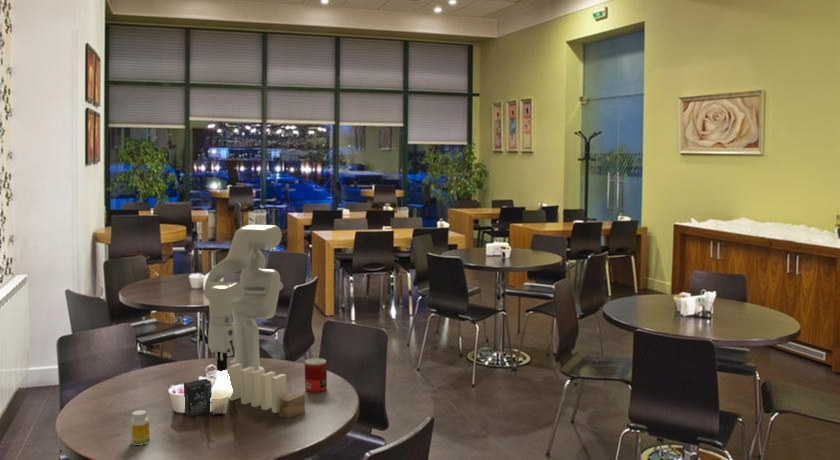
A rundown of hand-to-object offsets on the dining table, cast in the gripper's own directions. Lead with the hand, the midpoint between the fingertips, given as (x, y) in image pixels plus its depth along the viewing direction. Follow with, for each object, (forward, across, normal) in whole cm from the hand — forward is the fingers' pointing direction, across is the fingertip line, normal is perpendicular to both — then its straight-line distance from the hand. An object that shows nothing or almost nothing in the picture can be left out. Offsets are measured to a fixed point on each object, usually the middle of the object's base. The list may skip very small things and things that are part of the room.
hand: (222, 370), depth 275 cm
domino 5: (+9, -28, 0) cm, 29 cm away
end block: (+9, -34, 0) cm, 35 cm away
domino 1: (+9, -6, 0) cm, 11 cm away
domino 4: (+9, -23, 0) cm, 25 cm away
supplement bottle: (+10, -13, +44) cm, 47 cm away
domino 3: (+9, -18, 0) cm, 20 cm away
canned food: (+9, -24, -23) cm, 35 cm away
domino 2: (+9, -13, 0) cm, 16 cm away
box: (+10, -7, +17) cm, 21 cm away
